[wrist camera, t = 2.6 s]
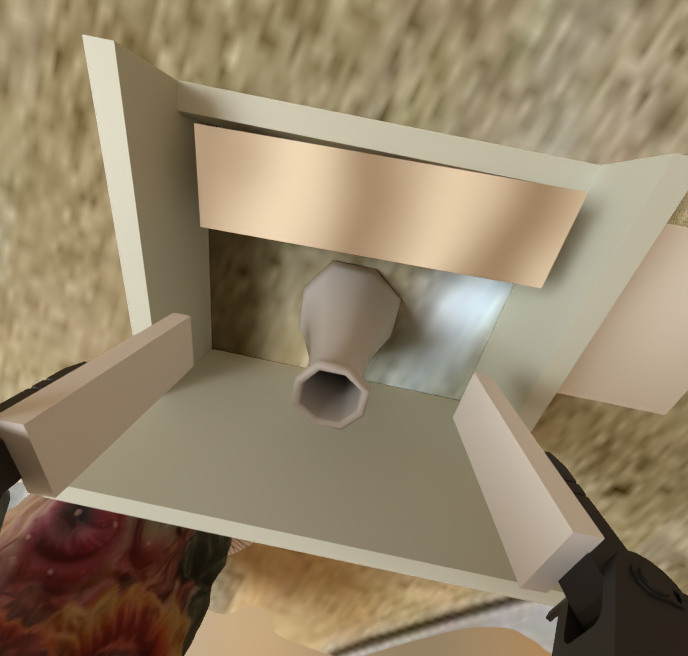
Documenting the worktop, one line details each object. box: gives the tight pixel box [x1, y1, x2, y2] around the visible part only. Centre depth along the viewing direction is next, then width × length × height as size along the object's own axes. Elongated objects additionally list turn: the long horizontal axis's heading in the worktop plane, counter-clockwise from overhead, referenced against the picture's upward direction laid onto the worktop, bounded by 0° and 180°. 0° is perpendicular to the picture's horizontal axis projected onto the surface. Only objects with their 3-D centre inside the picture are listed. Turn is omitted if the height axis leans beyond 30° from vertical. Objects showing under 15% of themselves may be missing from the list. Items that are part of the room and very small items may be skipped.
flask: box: [291, 261, 401, 430], centre depth 16 cm, size 7×7×10 cm
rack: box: [43, 35, 688, 606], centre depth 14 cm, size 23×18×12 cm
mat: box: [557, 223, 688, 415], centre depth 18 cm, size 11×12×1 cm
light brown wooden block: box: [194, 123, 588, 288], centre depth 14 cm, size 17×4×6 cm, turn 81°
